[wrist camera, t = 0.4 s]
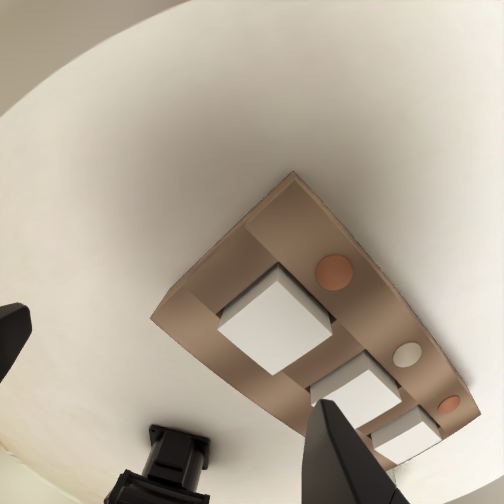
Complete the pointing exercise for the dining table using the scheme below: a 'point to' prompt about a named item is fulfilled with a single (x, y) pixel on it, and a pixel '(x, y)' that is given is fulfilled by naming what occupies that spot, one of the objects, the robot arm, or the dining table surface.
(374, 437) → the key
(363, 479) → the robot arm
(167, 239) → the dining table surface
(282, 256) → the key board
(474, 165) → the dining table surface
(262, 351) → the key
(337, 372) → the key mid
